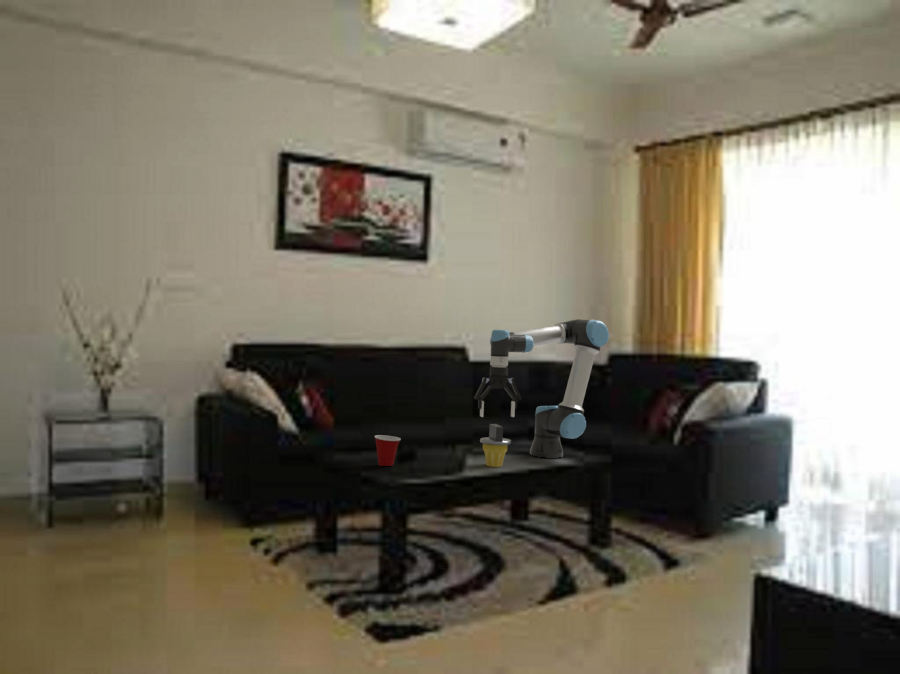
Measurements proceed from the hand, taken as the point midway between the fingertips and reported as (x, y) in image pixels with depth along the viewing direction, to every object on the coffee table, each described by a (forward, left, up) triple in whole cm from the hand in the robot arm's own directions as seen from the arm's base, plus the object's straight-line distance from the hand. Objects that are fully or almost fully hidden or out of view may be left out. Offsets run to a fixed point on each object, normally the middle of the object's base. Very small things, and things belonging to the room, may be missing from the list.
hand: (497, 416), depth 338 cm
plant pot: (0, 0, -21) cm, 21 cm away
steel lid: (0, 0, -11) cm, 11 cm away
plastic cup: (+46, +1, -21) cm, 51 cm away
